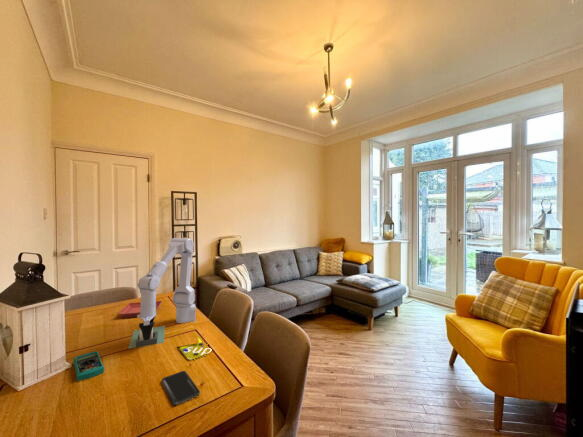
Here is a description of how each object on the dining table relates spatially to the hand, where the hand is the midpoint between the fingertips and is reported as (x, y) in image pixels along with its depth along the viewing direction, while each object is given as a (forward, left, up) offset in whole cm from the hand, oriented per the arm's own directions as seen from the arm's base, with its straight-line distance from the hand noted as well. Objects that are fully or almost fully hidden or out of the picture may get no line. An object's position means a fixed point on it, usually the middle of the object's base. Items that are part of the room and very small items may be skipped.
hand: (147, 335), depth 108 cm
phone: (-12, +36, -4) cm, 38 cm away
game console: (-18, +12, -4) cm, 22 cm away
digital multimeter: (+18, +12, -4) cm, 21 cm away
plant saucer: (+6, -42, -4) cm, 43 cm away
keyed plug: (0, 0, -2) cm, 2 cm away
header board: (0, -5, -3) cm, 6 cm away
